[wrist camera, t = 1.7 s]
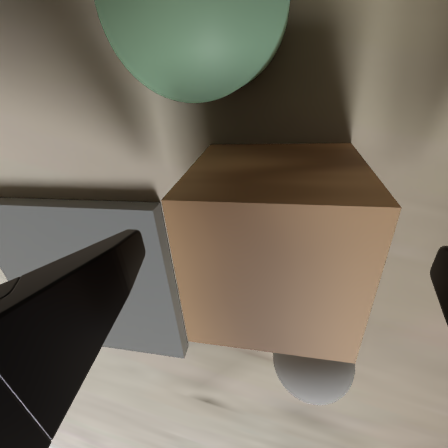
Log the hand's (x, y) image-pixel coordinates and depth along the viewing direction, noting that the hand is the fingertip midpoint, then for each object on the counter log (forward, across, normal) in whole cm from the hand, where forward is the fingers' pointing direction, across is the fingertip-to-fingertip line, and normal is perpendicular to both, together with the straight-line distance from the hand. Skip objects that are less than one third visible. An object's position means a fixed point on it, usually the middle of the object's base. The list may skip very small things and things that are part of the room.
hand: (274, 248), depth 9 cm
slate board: (+3, +10, +5) cm, 12 cm away
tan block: (+3, 0, 0) cm, 3 cm away
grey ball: (+1, -2, +7) cm, 7 cm away
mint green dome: (+3, +2, -6) cm, 8 cm away
